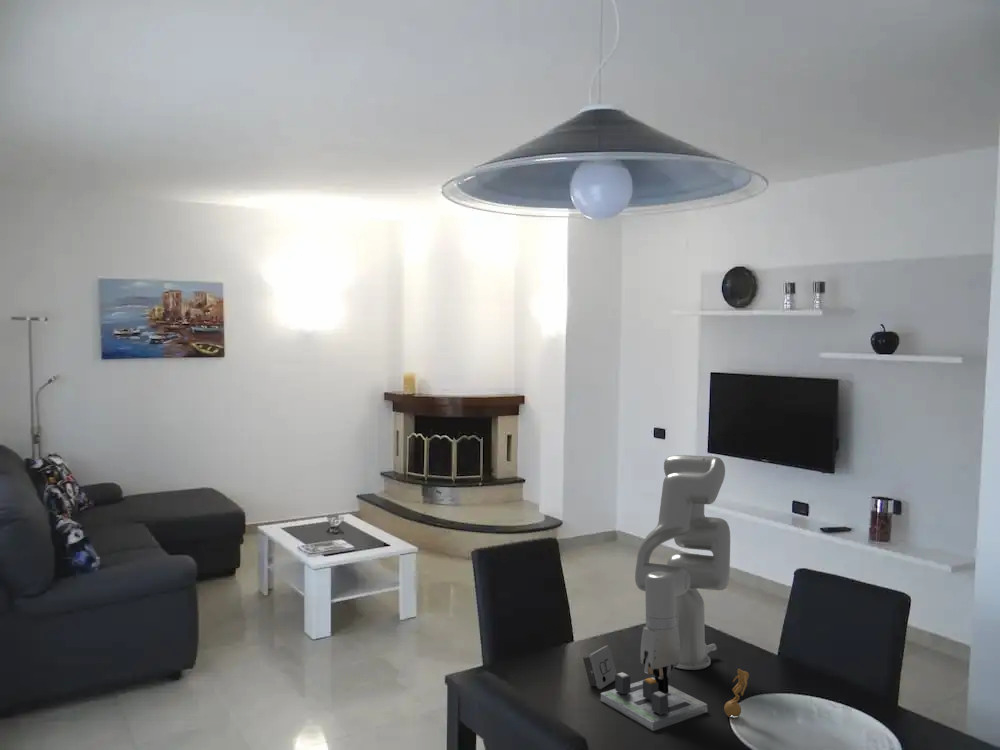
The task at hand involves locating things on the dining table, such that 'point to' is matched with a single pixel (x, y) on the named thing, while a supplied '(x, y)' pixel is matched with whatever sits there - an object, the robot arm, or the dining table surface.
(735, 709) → the figurine
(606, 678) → the electrical switch
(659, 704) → the block
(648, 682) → the breaker mid
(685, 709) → the panel
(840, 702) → the dining table surface
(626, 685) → the breaker
